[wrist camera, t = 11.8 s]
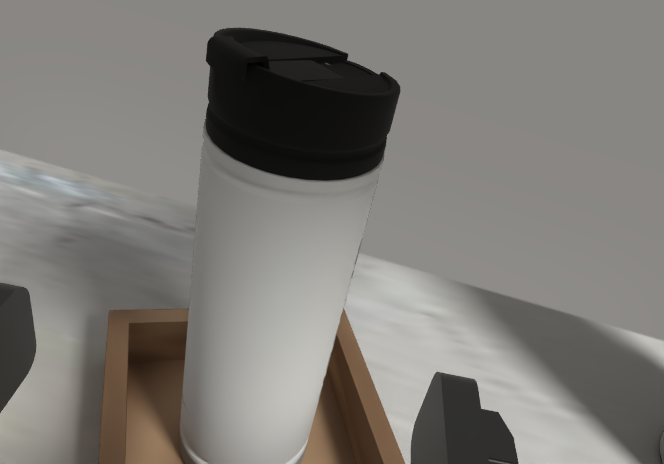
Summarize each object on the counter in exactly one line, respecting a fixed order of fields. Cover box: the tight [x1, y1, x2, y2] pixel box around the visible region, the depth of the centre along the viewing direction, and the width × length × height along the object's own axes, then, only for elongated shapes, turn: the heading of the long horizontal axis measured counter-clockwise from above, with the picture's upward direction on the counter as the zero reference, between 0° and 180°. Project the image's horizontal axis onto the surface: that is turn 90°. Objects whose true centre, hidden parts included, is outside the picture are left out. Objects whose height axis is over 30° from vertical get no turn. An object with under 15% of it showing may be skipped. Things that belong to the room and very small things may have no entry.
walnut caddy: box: [98, 309, 405, 464], centre depth 29 cm, size 13×13×4 cm
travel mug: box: [179, 28, 400, 464], centre depth 24 cm, size 6×7×20 cm
